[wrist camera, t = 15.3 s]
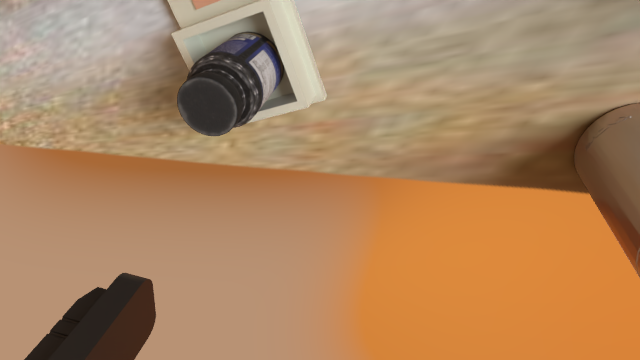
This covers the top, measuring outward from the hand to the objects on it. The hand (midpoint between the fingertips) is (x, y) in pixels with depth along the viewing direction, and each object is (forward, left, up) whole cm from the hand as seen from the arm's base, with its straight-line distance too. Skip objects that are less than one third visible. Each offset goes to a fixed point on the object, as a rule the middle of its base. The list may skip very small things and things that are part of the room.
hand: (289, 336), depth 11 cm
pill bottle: (+8, +9, -31) cm, 33 cm away
